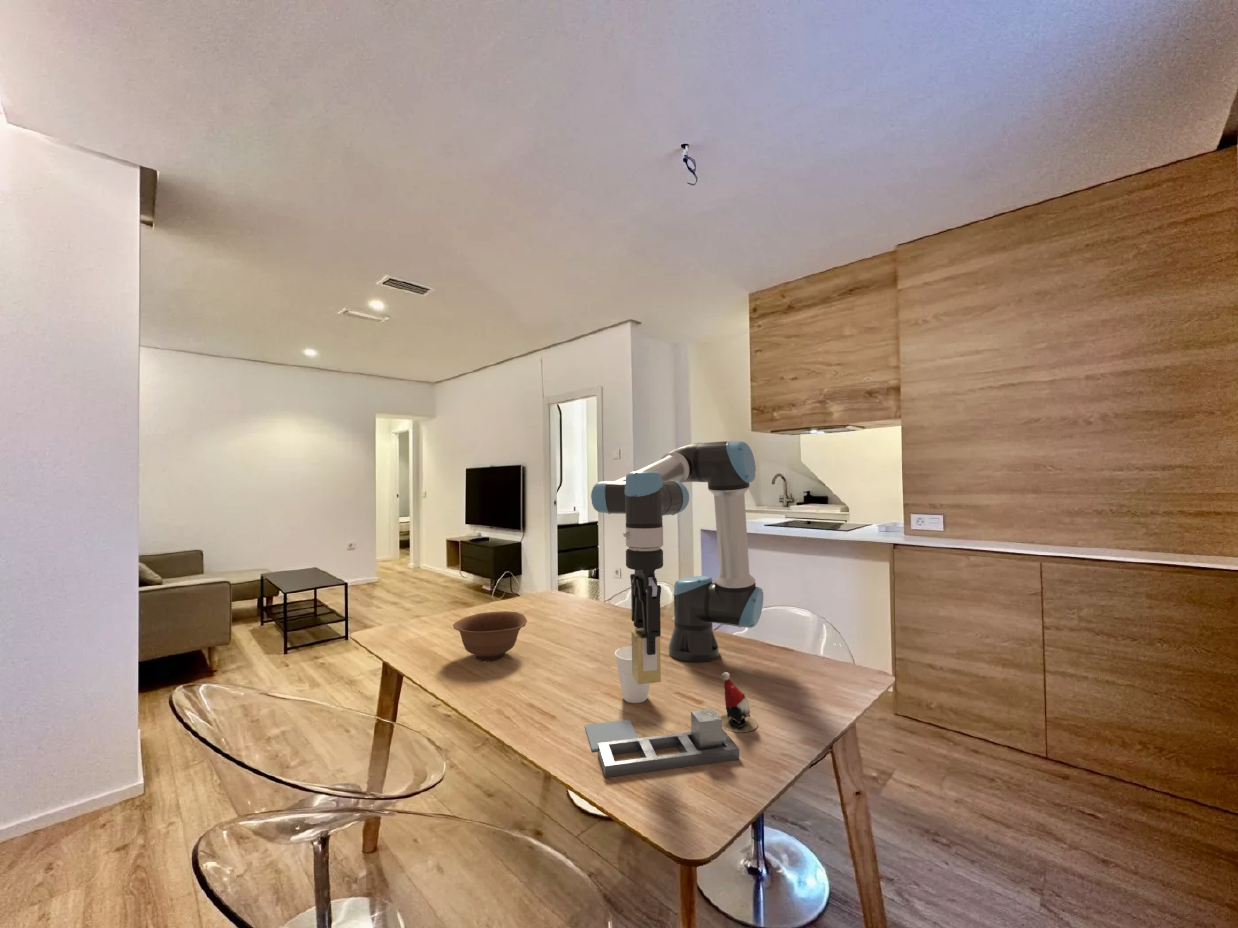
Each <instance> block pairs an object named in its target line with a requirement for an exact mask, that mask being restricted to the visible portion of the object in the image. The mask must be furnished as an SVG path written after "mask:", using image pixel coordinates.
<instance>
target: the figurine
mask: <svg viewBox="0 0 1238 928" xmlns="http://www.w3.org/2000/svg"><path fill="white" fill-rule="evenodd" d="M721 679H722V680H723V681H724V682H723V683H724V684H723V686H724V701H725V703H724V704H725V710H726V714H722V715H721V716H719V717H720V718H721V719H722V729H723V730H724V729H725V730H727V731H730V732H733V733H740V734H741V733H749V732H752V731H755V730H756V729H757V728H758V725H759V724H758V721H757V720H756V719H755V718H753V717H751V715H750V714H751V710H750V702H749V699H748V698H747V696H746V695H745V693H743V692H742V691H741V690H740V689H739V688H738V687H737V686H736V685H735V684H734V682H732V680H731V678H730V673H729V672H726V671H725V672H723V673H722V674H721ZM733 720H734V721H736V722H737V723H738V724H740V723H741V721H742V720H743V721H744V723H743V724H740V725H736V724H735V723H734V722H733Z"/></svg>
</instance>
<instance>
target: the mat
mask: <svg viewBox="0 0 1238 928" xmlns="http://www.w3.org/2000/svg"><path fill="white" fill-rule="evenodd" d="M584 729H585V733H586V737H587V739H588V744H589V746H590V749H591V752H598V743H602V742H610V741H619V740H627V739H635V738H639V736H638V734H637V732H636V730H635V728H634V726H633V724H632V722H631V720H630V719H624V720H615V721H614V720H613V721H605V722H598V723H597V722H596V723H588V724H587V723H586V724H584Z"/></svg>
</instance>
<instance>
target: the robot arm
mask: <svg viewBox="0 0 1238 928" xmlns="http://www.w3.org/2000/svg"><path fill="white" fill-rule="evenodd" d="M756 471H757V469H756V460H755V457H754V453H753V450H752V449H751V447H750V446H749V445H748V443H746V441H742V440H741V441H739V440H726V441H725V440H723V441H712V442H709V441H708V442H694V443H690V444H685V445H684V446H682V447H678V448H675V449H673V450H671V451H668V452H667V453H665V454H663V455H662V457H660V459H659V460H658V461H655V462H654V463H651V464H649V465H647V466H644V467H642V468H641V469H638V470H636V471H630V472H628V473H626V475H625V476H622V477H620V478H618V479H616V480H613V481H612V480H605V481H598V482H596V483H595V484H594V485H593V487H592V490H591V492H590V499H591V505H592V507H593V509H594V510H595V511H597V512H598V513H603V514H604V513H605V514H608V515H610V514H614V515H616V514H618V515H619V514H620V515H621V514H622V515H624V514H625V532H623V533H622V535H623V538H624V537H625V544H626V545H625V546H626V547H627V549H626V550H625V566H626V568H627V569H630V570H634V573H630V575H629V578H630V587H631V588H630V593H631V594H630V596H631V598H630V599H631V602H630V603H631V621H632V622H633V626H634V631H635V630H644V635H640V637H641V638H642V654H643V671H652V670H657V637H659V636H660V637H661V635H662V633H661V596H662V586H661V585H660V584H659V585H658V580H657V577H656V573H655V571H657V570H659V569H660V570H661V569H662V568H663V567H664V550H663V549H662V548H661V547H663V546H664V526H663V516H670V515H671V516H675V515H677V514H679V513H682V512H683V511H684V510H685V509H687V506H688V505H689V502H690V494H689V491H688V489H687V487H686V485H684V484H683V483H707V490H708V491H709V492H711V494H713V498H714V499H713V502H714V515H715V529H716V530H715V531H716V544H717V558H718V559H717V561H718V573H719V574H718V576H716V578H715V579H714V582H713V579H712V577H711V576H707V575H694V576H688V577H687V576H686V577H682V578H679V579H677V580H676V581H675V582H674V585H673V618H674V619H673V620H674V623H673V624H674V626H673V630H672V634H671V637H670V640H669V644H668V654H669V655H670V657H672V658H674V659H676V660H679V661H684V662H688V663H689V662H691V663H704V662H710V661H713V660H715V659H717V658H718V657H719V655H720V654H719V649H720V648H719V645H718V642H717V638H716V636H715V632H714V629H713V623H714V624H720V625H724V626H733V627H738V628H747V629H748V628H749V629H752V628H755V626H757V624H758V623H759V621H760V618H761V616H762V612H763V611H762V610H763V605H764V592H763V591H764V590H763V588H761V587H759V586H757V584H756V579H755V577H754V576H753V575H751V574H750V560H749V546H748V545H749V544H748V543H749V542H748V533H747V532H748V531H747V515H746V513H747V512H746V499H745V493H746V492H747V491H748V490H749V489H750V483H751V482H752V483H753V481H754V480H755V479H756Z"/></svg>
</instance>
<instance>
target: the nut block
mask: <svg viewBox="0 0 1238 928" xmlns="http://www.w3.org/2000/svg"><path fill="white" fill-rule="evenodd" d="M640 635H644V630H635V629H634V630H631V646H632V676H633V678H634V679H635V681H636V682H637V683H638V685H639V684H648V683H650V684H655V683H662V679H661V678H662V677H661V676H662V674H661V636H659V637H657V670H652V671H643V654H642V638H641V637H640Z"/></svg>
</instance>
